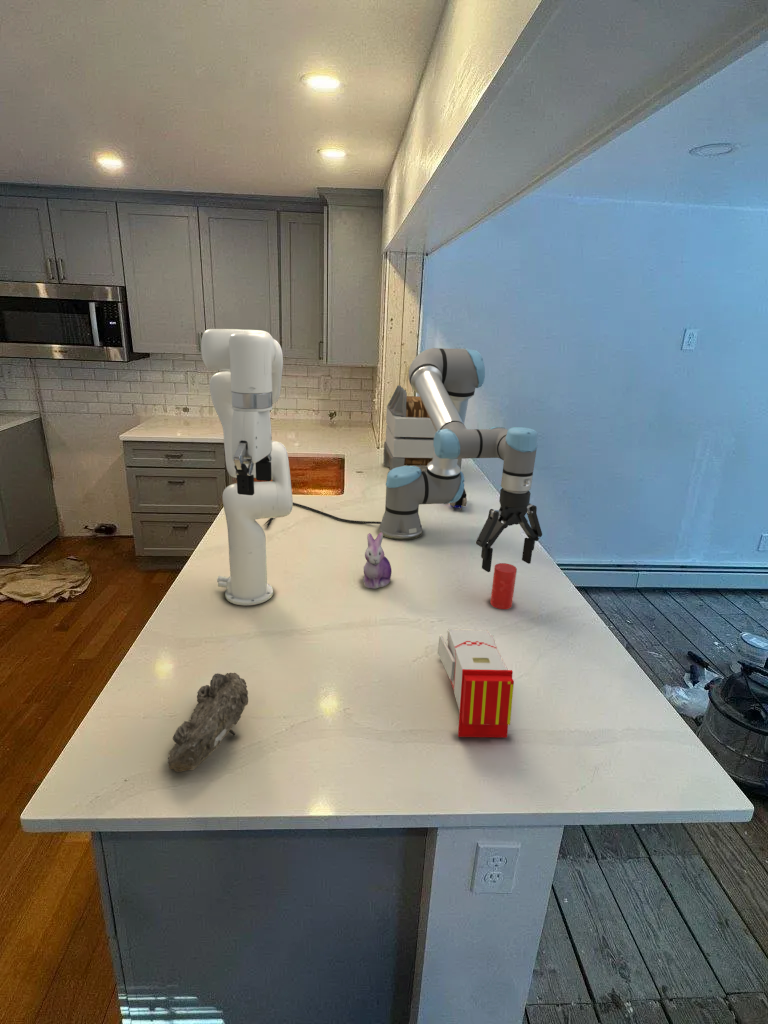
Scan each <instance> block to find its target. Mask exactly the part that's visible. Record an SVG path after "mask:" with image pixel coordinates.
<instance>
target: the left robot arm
mask: <svg viewBox="0 0 768 1024" xmlns="http://www.w3.org/2000/svg"><path fill="white" fill-rule="evenodd" d="M282 349H283V348H282V346H281V345H280V343H279V342H278V341H277V340H276V339H275V338H273V336H272V335H271V333H269V332H268V331H265V330H260V329H241V328H240V329H238V328H208V329H205V331H203V333H202V336H201V340H200V353H201V358H202V362H203V364H204V366H205V367H206V368H207V370H210V371H211V370H212V371H213V370H214V371H220V372H216V373H214V374H213V375H212V376H211V377H210V380H209V393H210V397H211V401H212V405H213V408H214V410H215V412H216V415H217V417H218V420H219V421H220V424H221V427H222V432H223V447H224V458H225V459H224V460H225V466H226V470H227V474H228V475H229V476H230V477H232V478H235V479H236V483H232V484H229V485H227V486H226V487H225V488H224V489H223V491H222V498H221V499H222V505H223V511H224V516H225V521H226V527H227V529H226V530H227V539H228V540H227V542H228V557H229V575H230V576H223V575H218V576H217V578H216V580H217V587H219V588H225V589H226V590H225V593H224V596H225V599H226V600H227V601H228V603H229V602H230V603H231V604H233V605H236V606H237V605H238V606H257V605H260V604H263V603H265V602H267V601H269V600H270V599H271V598H272V597H273V595H274V588H273V587H272V585H271V584H270V583H268V571H267V569H268V568H267V537H266V536H267V535H266V532H265V530H264V528H263V527H262V526H261V524H260V523H259V522H258V521H257V520H261V519H263V520H264V519H270V518H273V519H278V518H285V517H288V516H289V515H290V514H291V513H292V511H293V508H294V507H293V506H294V505H293V503H294V502H293V501H294V499H293V488H292V480H291V469H290V462H289V461H290V460H289V454H288V451H287V448H286V446H285V445H284V444H283V443H282V442H281V441H276V440H273V436H272V435H273V432H272V420H271V411H272V410H273V408H274V407H273V405H274V404H276V403H277V402H278V401H279V399H280V396H281V390H282V389H281V388H282V378H283V370H284V369H283V368H284V355H283V350H282ZM255 479H256V481H255Z"/></svg>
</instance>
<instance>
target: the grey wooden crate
mask: <svg viewBox="0 0 768 1024" xmlns="http://www.w3.org/2000/svg"><path fill="white" fill-rule="evenodd" d="M407 394H408V393H407V390H406V389H404V388H403V387H402V385H399V384H398V385H397V386H396V388H395V390H394V392H393V394H392V395H391V398H390V400H389V402H388V404H387V405H386V413H385V414H386V415H385V423H386V428H385V438H384V442H383V466H384V467H388V468H389V471H390V470H392V469H394V468H397V467H401V466H416V467H427V464H428V463H429V462H431V461H432V459H433V453H434V445H433V443H434V436H435V433H436V430H435V428H434V426H433V424H432V422H431V419H430V417H429V415H428V413H427V411H426V409H425V407H424V404H423V402H422V400H421V398H420V396H415V395H414V396H413V395H412V396H411V395H407ZM462 461H463V460H462V459H458V462H457V465H458V466H459V467H460V471H461V472H462Z"/></svg>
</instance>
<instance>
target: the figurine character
mask: <svg viewBox="0 0 768 1024" xmlns="http://www.w3.org/2000/svg"><path fill="white" fill-rule="evenodd" d="M467 503H468V498H467V492H466V489H465V488H464V490H463V494H462V496H461V498H460V499H459V500H458V501H456V502H454V503H449V505H450V507H452V509H453V511H456V509H460V511H463V507H464V508H465V507H467Z"/></svg>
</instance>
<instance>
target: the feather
mask: <svg viewBox="0 0 768 1024" xmlns="http://www.w3.org/2000/svg"><path fill="white" fill-rule="evenodd" d="M273 519H274V518H268V520H267V521H266V522H265V523H264V524H263V526H265V525H266V529H268V528H269V527H270V525H271V523H272V521H273Z"/></svg>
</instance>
